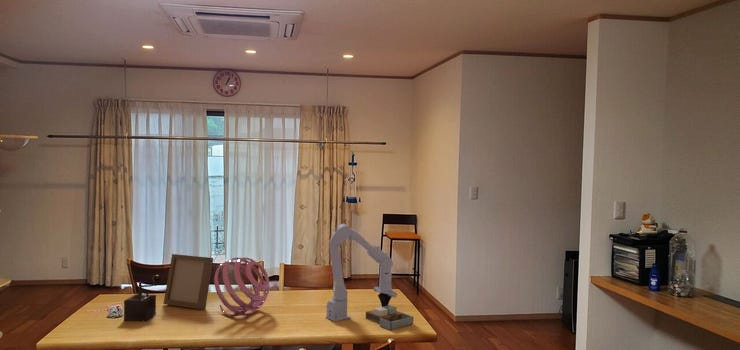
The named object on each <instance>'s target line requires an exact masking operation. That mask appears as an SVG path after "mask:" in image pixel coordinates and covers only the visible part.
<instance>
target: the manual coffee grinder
mask: <svg viewBox="0 0 740 350" xmlns="http://www.w3.org/2000/svg"><path fill="white" fill-rule="evenodd" d="M161 279H162V276H160V275H159V274H154V275H153V276H152V281H153V283H152V284H144V285H143V283H142V281H139V282H138V286H137V287H138V293H135V294H134V295H132V296H130V297H129V298H126V299H124V301H123V321H124V322H148V321H149V320H150V319H152V318H154V316H156V314H157V311H156V310H157V299H156V298H157V295H156V294H149V293H145V292H142V288H149V287H156V286H158V285H160V280H161Z"/></svg>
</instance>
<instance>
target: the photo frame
mask: <svg viewBox="0 0 740 350" xmlns="http://www.w3.org/2000/svg"><path fill="white" fill-rule="evenodd" d="M213 263H214V257H207V256H206V257H205V256H198V255H197V256H195V255H188V254H187V255H186V254H185V255H184V254H176V253H171V258H170V264H169V265H170V266H169V270H168V276H167V281H166V288H165V293H164V298H163V299H164V300H163V305H170V306H177V307H183V308H184V307H186V308H189V309H190V308H192V309H197V310H199V309H200V310H203V309H206V308H207V307H206V306H207V301H208V295H209V289H210V288H209V287H210V282H211V278H212V277H211V276H212V270H213Z"/></svg>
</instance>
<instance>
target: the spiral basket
mask: <svg viewBox="0 0 740 350" xmlns="http://www.w3.org/2000/svg"><path fill="white" fill-rule="evenodd" d="M235 260H236V261H235ZM241 263H244V264H245V266H243V265H242V264H241ZM229 266H233V274H234V279H235V283H236V284H237V286H238V288H239V290H240V291H241V292H243V294H244V295H245V296H246V297H247V298H249V299H250V301H249V302H248V303H247V302H245V301H243V299H241V298H240V297H239V296H238V294H237V293H236V292H235V290H234V289H233V287H232V285H231V284H232V283H231V282H230V279H229V273H228V272H229ZM256 266H257V267H258V268H259V269H260V270H259V269H258V268H257V267H256ZM222 267H223V269H222V280H223V284H224V286H225V289H226V291H227V293H228V295H229V296H230V298H231V299H232V300H233V301H234V302H235V303H236V304H237V305H233V304H231V303H230V302H229V301H228V300H227V299H226V297H225V295H224V294H223V292H222V290H221V287H220V282H219V272H220V270H221V268H222ZM240 271H241V272H242V274H244V275H245V277H247V279H248V280H249V282H250V284H251V285H252V288H253V291H254V293H253V292H252V291H251V290H250V289H249V288H248V287H247V286H246V284H245V283H244V281H243V279H242V275H241V272H240ZM252 271H253V272H254V273H255V275H256V276H257V277H258V280H259V282H258V281H257V280H256V278H255V276H254V275H253V272H252ZM260 271H261V272H262V274H263V276H264V277H263V276H262V274H261V272H260ZM213 282H214V288H215V291H216V294H217V296H218V298H219V300H220V302H221V303H222V304H223V305H224V307H225V308H227V310H228V311H230V312H232V314H231V313H228V312H226V311H225V310H224V308H223V306H222V305H221V304H219V308H220V311H221V312H222V314H224V315H226V317H241V316H242V317H246V316H250V315H252V314H254V313H255V312H257V310H259V309H261V308H262V306H263V305H264V304H265V302H266V300H267V298H268V296H269V293H270V288H271V287H270V286H271V285H270V278H269V275H268V272H267V270H266V268H264V266H263V265H261V263H259V262H257V261H256V260H254V259H253V258H250V257H232V258H229V259H228V260H227V261H224V262H222V263H221V264H220V265H218V267H217V268H216V270H215V271H214V276H213ZM261 291H262V293H263V295H261V294H260V293H261ZM249 311H250V312H249Z"/></svg>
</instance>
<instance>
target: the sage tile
mask: <svg viewBox="0 0 740 350" xmlns="http://www.w3.org/2000/svg"><path fill="white" fill-rule="evenodd" d="M383 308H386V309H388V314H393V313H397V311H398V310H397V308H398V307H397V306H395V305H392V304H388V305H387V306H383Z"/></svg>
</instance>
